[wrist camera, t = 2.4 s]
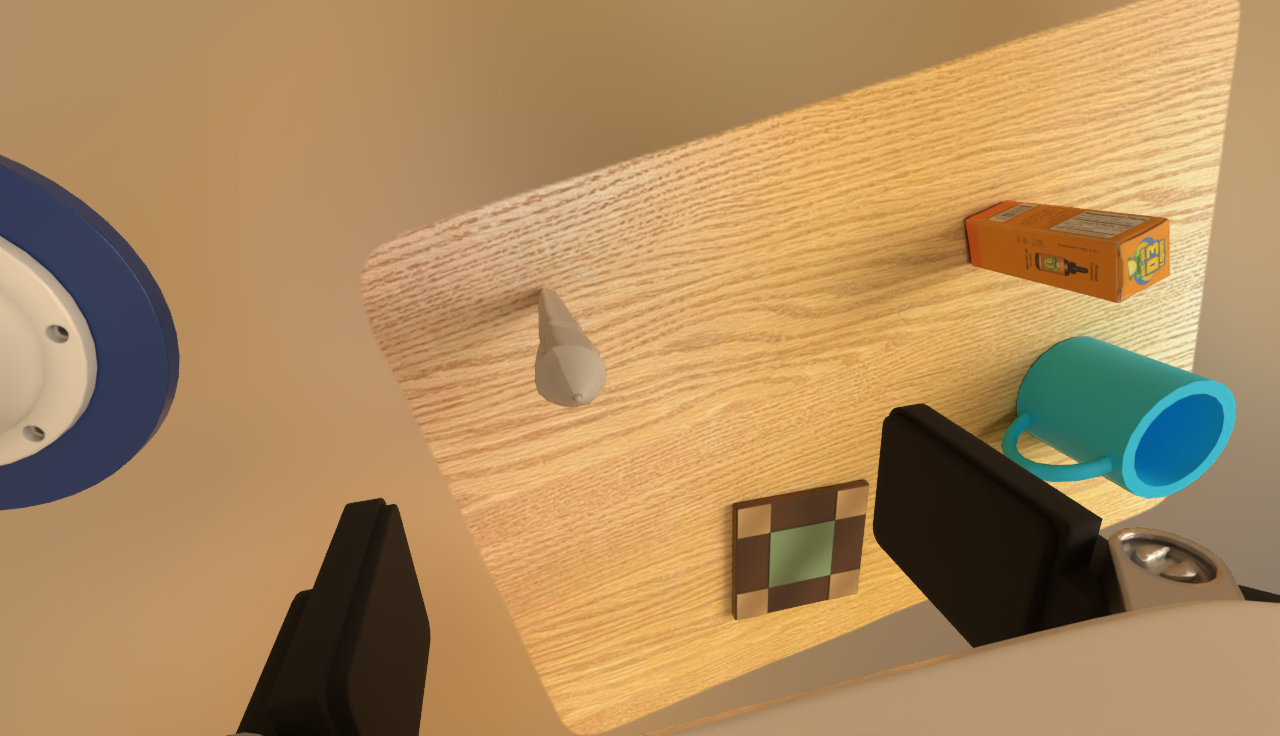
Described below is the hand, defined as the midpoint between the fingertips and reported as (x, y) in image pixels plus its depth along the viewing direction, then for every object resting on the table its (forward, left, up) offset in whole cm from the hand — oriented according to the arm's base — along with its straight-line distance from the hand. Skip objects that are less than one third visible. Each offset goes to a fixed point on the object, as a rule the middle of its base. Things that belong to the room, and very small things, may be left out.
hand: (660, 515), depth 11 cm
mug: (+34, -14, -24) cm, 44 cm away
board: (+15, -23, -24) cm, 36 cm away
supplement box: (+27, -1, -24) cm, 36 cm away
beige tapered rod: (-1, -2, -24) cm, 24 cm away
